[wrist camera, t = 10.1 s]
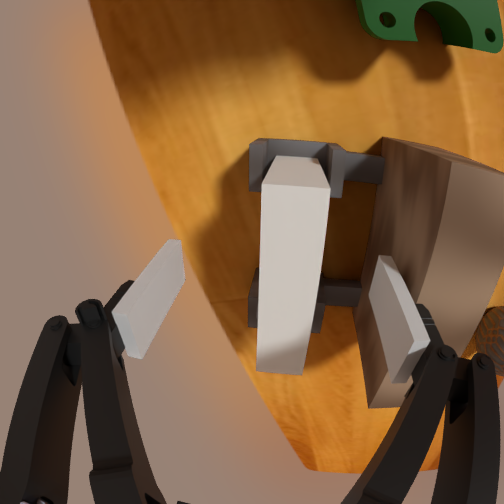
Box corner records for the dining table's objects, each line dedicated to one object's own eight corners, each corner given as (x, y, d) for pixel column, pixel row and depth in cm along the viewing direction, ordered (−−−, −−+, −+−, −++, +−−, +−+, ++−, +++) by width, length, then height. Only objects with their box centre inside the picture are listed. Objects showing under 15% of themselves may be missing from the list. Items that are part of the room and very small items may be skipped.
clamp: (362, 39, 19) (341, 40, 13) (349, -18, 15) (320, -41, 10) (489, 52, 13) (524, 62, 8) (480, -9, 9) (509, -26, 4)
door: (269, 155, 21) (250, 183, 13) (317, 158, 20) (330, 189, 12) (264, 293, 26) (248, 370, 18) (303, 296, 26) (301, 375, 18)
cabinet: (258, 125, 20) (222, 136, 10) (438, 147, 18) (526, 183, 9) (255, 304, 27) (232, 399, 18) (399, 313, 26) (429, 404, 16)
